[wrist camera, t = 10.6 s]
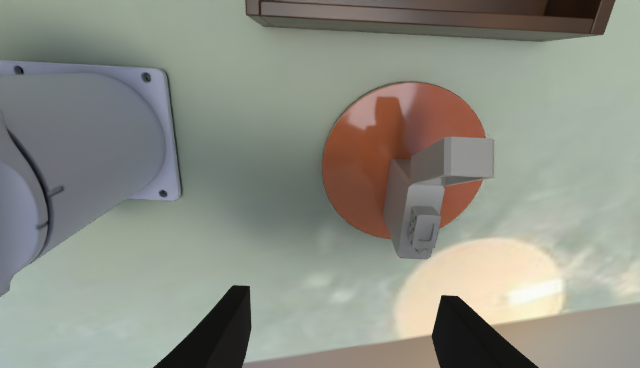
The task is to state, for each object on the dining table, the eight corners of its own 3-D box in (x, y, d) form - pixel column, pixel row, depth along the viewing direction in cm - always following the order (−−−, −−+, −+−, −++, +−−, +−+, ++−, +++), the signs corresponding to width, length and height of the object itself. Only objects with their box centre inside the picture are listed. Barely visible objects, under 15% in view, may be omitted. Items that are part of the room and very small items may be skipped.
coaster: (318, 231, 21) (318, 235, 20) (326, 77, 17) (326, 77, 17) (463, 238, 21) (467, 243, 21) (501, 86, 17) (507, 86, 17)
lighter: (408, 220, 20) (459, 313, 12) (382, 219, 20) (417, 311, 12) (427, 109, 17) (506, 143, 10) (397, 108, 17) (452, 140, 10)
